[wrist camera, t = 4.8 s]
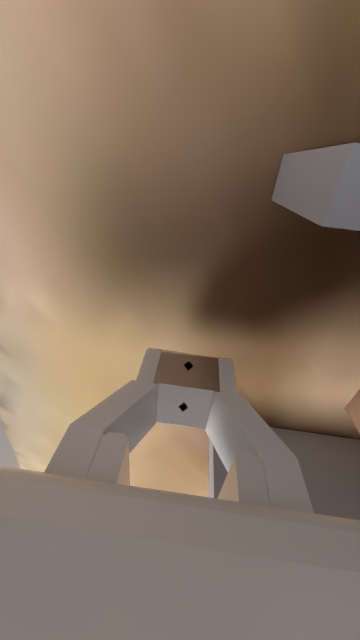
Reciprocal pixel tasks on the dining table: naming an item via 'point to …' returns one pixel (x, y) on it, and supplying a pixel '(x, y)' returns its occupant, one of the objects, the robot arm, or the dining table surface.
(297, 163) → the frame
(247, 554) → the robot arm
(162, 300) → the dining table surface
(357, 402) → the walnut block
